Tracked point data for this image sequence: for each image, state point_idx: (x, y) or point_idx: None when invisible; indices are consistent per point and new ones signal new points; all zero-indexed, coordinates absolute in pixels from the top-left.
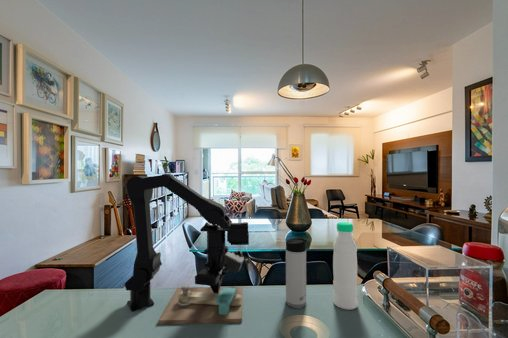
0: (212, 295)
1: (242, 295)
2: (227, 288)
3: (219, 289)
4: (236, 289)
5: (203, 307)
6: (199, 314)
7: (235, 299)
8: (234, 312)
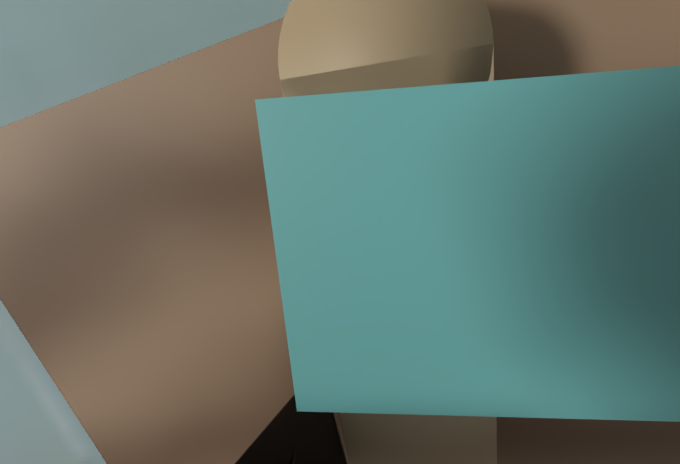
0: (430, 455)
1: (98, 95)
2: (327, 323)
3: (276, 428)
4: (17, 216)
5: (507, 427)
6: (651, 422)
7: (493, 47)
8: (589, 35)
